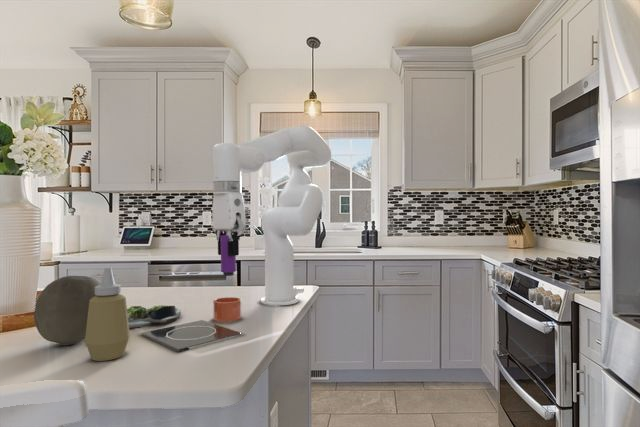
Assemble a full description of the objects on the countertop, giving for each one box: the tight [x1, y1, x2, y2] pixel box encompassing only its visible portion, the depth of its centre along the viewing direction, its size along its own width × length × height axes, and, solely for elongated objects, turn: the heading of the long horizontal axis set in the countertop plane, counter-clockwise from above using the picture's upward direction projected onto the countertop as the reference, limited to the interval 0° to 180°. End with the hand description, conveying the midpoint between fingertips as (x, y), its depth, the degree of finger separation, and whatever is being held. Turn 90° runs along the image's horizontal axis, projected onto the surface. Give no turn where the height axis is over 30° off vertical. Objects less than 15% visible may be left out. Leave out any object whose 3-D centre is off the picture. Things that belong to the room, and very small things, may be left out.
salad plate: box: [127, 304, 181, 329], centre depth 108 cm, size 19×18×5 cm
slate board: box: [141, 319, 242, 353], centre depth 95 cm, size 16×18×1 cm
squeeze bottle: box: [84, 266, 131, 362], centre depth 81 cm, size 8×8×18 cm
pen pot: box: [212, 296, 242, 323], centre depth 110 cm, size 7×7×6 cm
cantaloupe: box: [33, 275, 101, 346], centre depth 90 cm, size 14×14×15 cm
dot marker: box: [220, 235, 237, 277], centre depth 110 cm, size 4×4×11 cm
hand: (228, 254), depth 110 cm, fingers closed on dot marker, 4 cm apart
